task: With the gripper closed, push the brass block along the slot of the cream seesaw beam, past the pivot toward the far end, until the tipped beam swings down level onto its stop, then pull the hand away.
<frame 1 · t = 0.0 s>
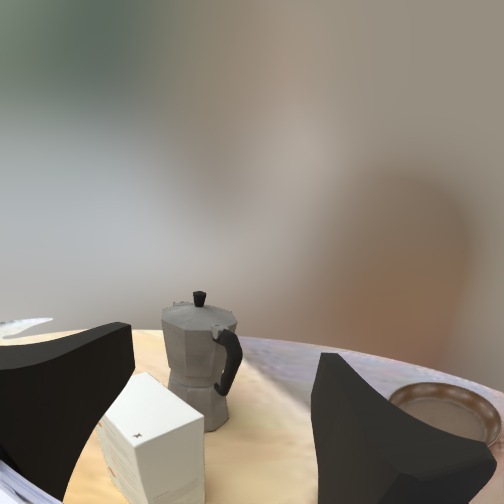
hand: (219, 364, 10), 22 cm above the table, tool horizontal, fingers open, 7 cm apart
plant saucer: (439, 429, 31), on the table
small box: (156, 494, 20), on the table
coffeepot: (199, 418, 35), on the table
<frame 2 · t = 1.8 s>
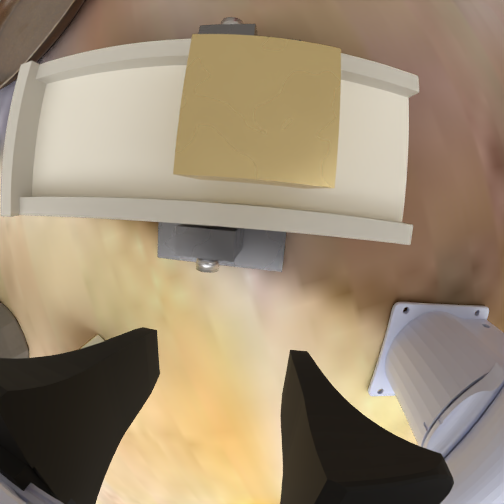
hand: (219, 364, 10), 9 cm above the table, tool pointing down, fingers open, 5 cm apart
brass block: (256, 132, 13), point 4 cm above the table, tilted 7°, touching beam
pivot stand: (229, 144, 18), on the table
plant saucer: (38, 17, 17), on the table
coffeepot: (10, 331, 24), on the table
beam: (193, 126, 13), point 5 cm above the table, hinge at -6.6°, touching brass block
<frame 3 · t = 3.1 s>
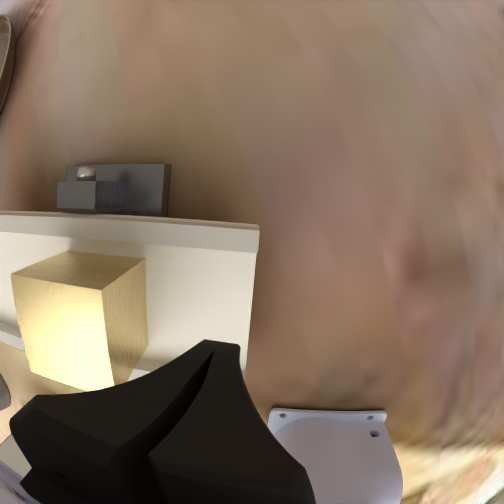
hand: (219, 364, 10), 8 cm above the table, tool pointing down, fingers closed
brass block: (105, 298, 15), point 4 cm above the table, tilted 7°, touching beam
pivot stand: (114, 272, 19), on the table
small box: (68, 423, 24), on the table
beam: (60, 293, 14), point 5 cm above the table, hinge at -6.6°, touching brass block
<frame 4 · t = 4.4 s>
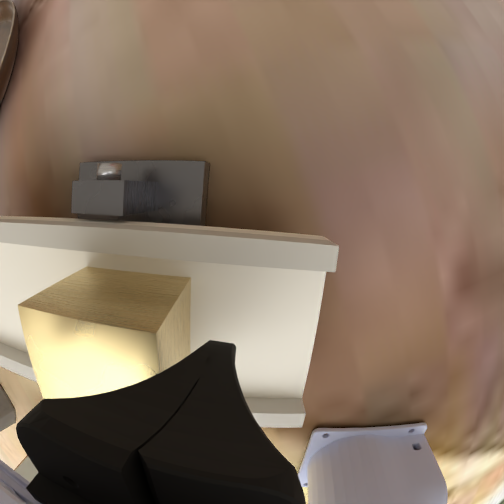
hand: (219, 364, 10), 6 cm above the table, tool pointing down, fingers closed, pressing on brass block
brass block: (137, 324, 12), point 4 cm above the table, tilted 7°, touching beam, gripper
pivot stand: (139, 288, 17), on the table
small box: (80, 444, 22), on the table
beam: (79, 318, 12), point 5 cm above the table, hinge at -6.6°, touching brass block
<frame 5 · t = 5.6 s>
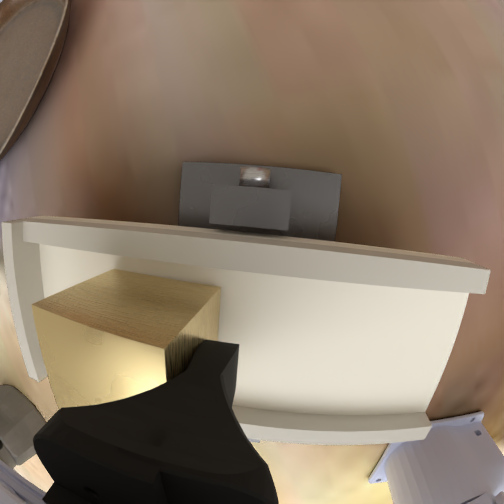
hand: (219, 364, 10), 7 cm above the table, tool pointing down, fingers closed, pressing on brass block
brass block: (163, 331, 12), point 5 cm above the table, touching beam, gripper
pivot stand: (250, 304, 16), on the table
plant saucer: (9, 76, 15), on the table
coffeepot: (28, 411, 23), on the table
beam: (211, 344, 12), point 5 cm above the table, hinge at 1.5°, touching brass block
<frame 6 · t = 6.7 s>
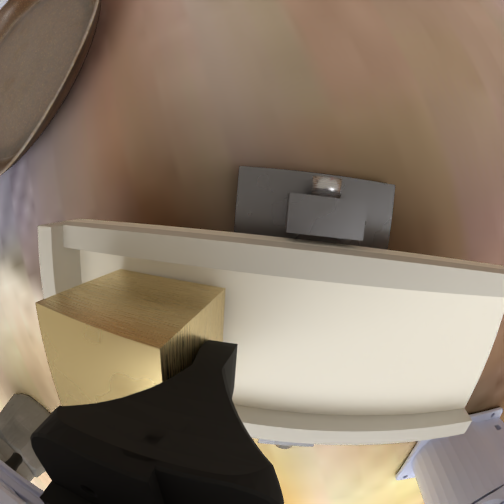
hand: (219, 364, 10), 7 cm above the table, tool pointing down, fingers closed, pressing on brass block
brass block: (168, 332, 12), point 5 cm above the table, tilted 7°, touching beam, gripper
pivot stand: (301, 310, 16), on the table
plant saucer: (27, 69, 15), on the table
coffeepot: (45, 421, 22), on the table
beam: (282, 354, 11), point 5 cm above the table, hinge at 2.3°, touching brass block
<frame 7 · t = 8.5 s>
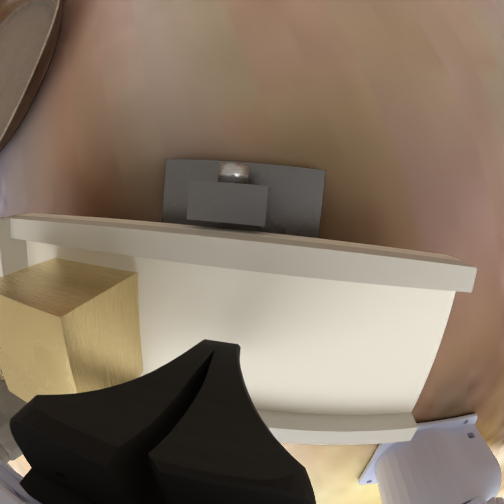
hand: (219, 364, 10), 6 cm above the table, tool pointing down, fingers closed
brass block: (95, 314, 12), point 5 cm above the table, touching beam
pivot stand: (234, 301, 16), on the table
plant saucer: (4, 76, 15), on the table
coffeepot: (22, 407, 23), on the table
beam: (190, 341, 11), point 5 cm above the table, hinge at 0.7°, touching brass block
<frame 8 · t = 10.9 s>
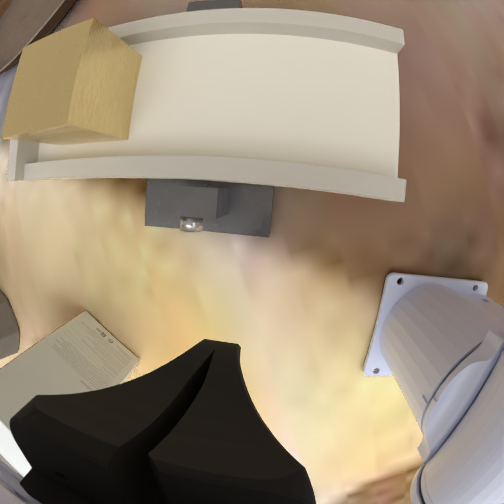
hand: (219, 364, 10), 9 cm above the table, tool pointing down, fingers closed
brass block: (98, 101, 13), point 5 cm above the table, touching beam
pivot stand: (217, 114, 17), on the table
plant saucer: (38, 7, 16), on the table
small box: (97, 358, 22), on the table
coffeepot: (2, 313, 23), on the table
beam: (175, 89, 12), point 5 cm above the table, hinge at 0.7°, touching brass block
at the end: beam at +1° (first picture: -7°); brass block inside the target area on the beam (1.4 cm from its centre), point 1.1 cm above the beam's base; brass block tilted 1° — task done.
